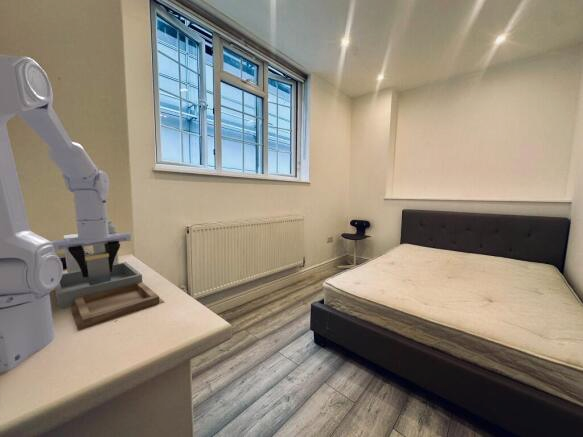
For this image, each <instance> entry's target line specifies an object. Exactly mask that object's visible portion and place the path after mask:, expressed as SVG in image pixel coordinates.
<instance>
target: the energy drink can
mask: <svg viewBox="0 0 583 437" xmlns="http://www.w3.org/2000/svg"><path fill="white" fill-rule="evenodd" d="M108 230H109V234H117V226H116V224H114V220H108ZM102 242H104V241H102ZM95 243H96V242H95ZM92 248H93V250H92V251H93V253H96V252H102V251H105V246H104V244H99V245H92ZM119 260H120V259H119V251H118V252H117V254H116V256H115V259H114V262H113V264H118V263H120V262H119Z"/></svg>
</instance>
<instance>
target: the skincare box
mask: <svg viewBox="0 0 583 437" xmlns="http://www.w3.org/2000/svg"><path fill="white" fill-rule="evenodd" d="M62 237H63V238H62V240H65V239H72V238H78V233H76V234H75V233H72V234H66V235H65V234H64V235H63V236H62ZM83 250H84V251H85V254H87V253H86V246H84V247H83ZM64 255H65V263H66V265H65V266H66V270H67V271H66V273H70V272H75V271H80V270H81V269H80V267H79V265H78V263H77V261H76V260H75V259H74V257H73V256H72V255H71V254H70V252H69V251H68V249H64Z"/></svg>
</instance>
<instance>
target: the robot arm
mask: <svg viewBox="0 0 583 437" xmlns="http://www.w3.org/2000/svg"><path fill="white" fill-rule="evenodd" d="M53 102H54V94H53V88H52V85H51V82H50V79H49V77H48V75H47V73H46V71H45V70H44V69H43V68H42V67H41V66H40V65H39V64H38V62H36V61H35V60H34V59H33V58H31V57H29V56H25V55H19V56H16V55H9V54H2V53H0V373H4V372H10V371H12V370H13V369H15V368H16V367H18V366H19V365H20V364H21V363H22V362H24V361H25V360H26V359H29V357H31V356H32V355H34V354H35V353H37V352H39V351H41V350H42V349H44V348H46V347H47V346H48V345H49V344H51V343H52V342H53V341H54V339H55V338H56V335H55V327H54V319H53V311H52V304H51V296H50V293H51V292H52V291H55V287H56V286H57V285H58V284H59V282H60V280H61V278H62V274H64V267H63V262H62V261H61V258H60V257H59V256H58V255H57V253H56V252H57V251H60V250H65V249H68V251H69V252H70V254H71V255H72V256H73V257H74V259H75V260H76V261H77V263H78V265H79V267H80V269H81V272H82V276H83V278H84V277H87V270H86V265H85V252H86V250H85V251H84V250H83V247H84V246H85V247H90V246H93V245H99V244H104V246H105V251H106V252H107V253H109V257H108V261H109V269H110V272H112V267H113V262H114V259H115V256H116V254H117V252H118V253H119V250H120V248H121V242H132V240H131V239H132V237H131V236H132V235H131V233H130V232H122V233H116V234H109V230H108V221H109V219H108V211H107V210H108V209H107V201H108V199H109V189H110V180H109V176H108V174H107V172H106V171H103V170H102V169H100V168H97V166H96V165H95V163H94V162H93V161H92V159H91V158H90V156H89V154H88V153H87V152H86V150H85V149H84V148H83V146H82V144H80V143H79V142H76V141H72V140H71V138H70V137H69V135H68V133H67V131H66V130H65V128H64V126H63V125H62V122H61V121H60V119H59V117H58V116H57V113H56V112H55V110H54V108H53ZM15 116H18V117H19V118H20V119H21V120H22V121H23V122H24V123H25V124H26V125H27V126H28V127H29V128H30V129H31V130H32V131H33V132H34V134H36V135H37V136H38V137H39V138H40V139H41V140H42V141H43V142H44V143H45V144H46V146H48V147H49V148H48V150H47V156H48V157H49V159H50V160H51V161H52V162H53V163H54V165H55V166H56V167H57V168H58V169H59V170H60V172H62V178H63V180H64V182H65V186H66V188H67V190H68V191H70V192H71V193H73V199H74V210H75V218H76V228H77V229H76V230H77V234H78V238H72V239H65V240H63V239H59V240H52V241H50V240H48V239H47V238H44V237H43V236H40V235H39V234H36V233H35V232H33V231H32V230H31V227H30V222H29V220H28V215H27V211H26V206H25V201H24V196H23V194H22V189H21V184H20V179H19V176H18V171H17V167H16V166H17V165H16V163H15V158H14V154H13V150H12V144H11V141H10V136H9V133H8V132H9V131H8V128H7V123H8V121H9V120H11V119H12V118H14V117H15ZM102 241H104V242H102ZM95 242H96V243H95Z"/></svg>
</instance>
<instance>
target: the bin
mask: <svg viewBox="0 0 583 437" xmlns="http://www.w3.org/2000/svg"><path fill="white" fill-rule="evenodd" d="M110 277H111V281H108V282H104V283H99V284H95V285H90V286H89V284H88V283H87V277H84V278H83V276H82V272H81V270H80V271H75V272H70V273H68V272H66V273H64V272H63V274H62V278H61V280H60V282H59V284H58V285H57V286H56V287H55V289H54V292H55V296H56V301H57V306H58V309H62V308H67V307H70V305H73V304H75V298H77V297H81V296H85V295H89V294H93V293H97V292H101V291H105V290H109V289H113V288H117V287H122V286H126V285H130V284H134V283H138V282H143V274H141V272H139V271H138V270H136V269H135V268H134V267H133V266H131V265H130V264H129V263H127V262H126V261H124V262H119V263H118V264H113V267H112V272H110Z"/></svg>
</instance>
